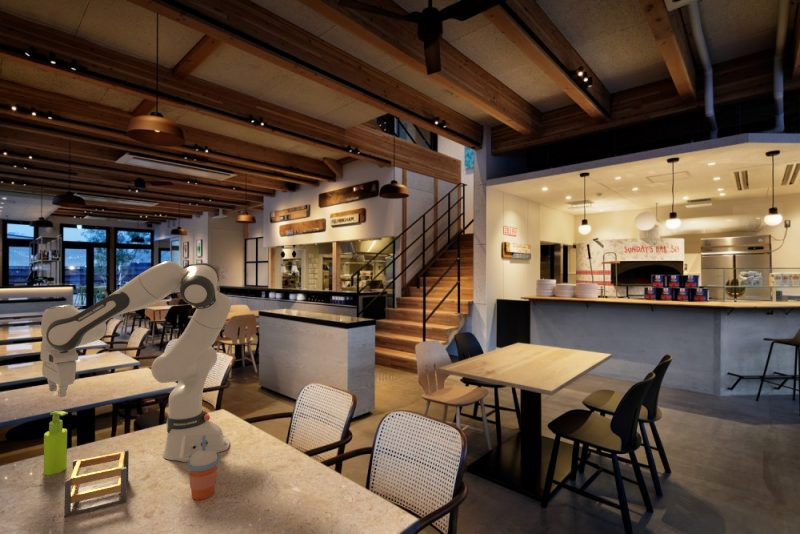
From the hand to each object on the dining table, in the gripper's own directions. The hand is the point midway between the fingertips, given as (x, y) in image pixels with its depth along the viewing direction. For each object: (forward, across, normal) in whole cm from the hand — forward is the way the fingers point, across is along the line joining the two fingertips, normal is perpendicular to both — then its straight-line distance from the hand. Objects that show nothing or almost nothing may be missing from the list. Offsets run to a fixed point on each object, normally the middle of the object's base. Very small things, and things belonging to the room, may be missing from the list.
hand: (57, 393), depth 134 cm
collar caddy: (+26, +30, +3) cm, 40 cm away
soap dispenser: (+26, 0, 0) cm, 26 cm away
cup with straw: (+26, +53, +22) cm, 63 cm away
